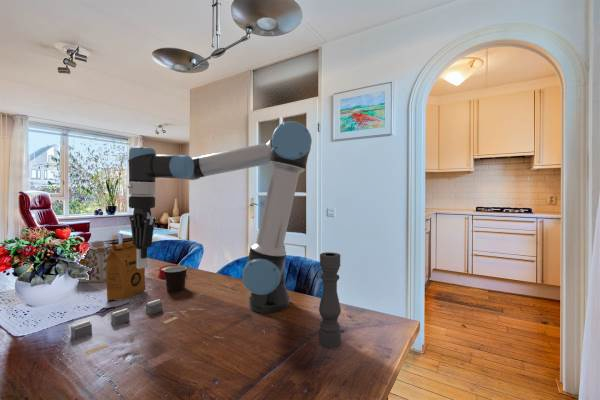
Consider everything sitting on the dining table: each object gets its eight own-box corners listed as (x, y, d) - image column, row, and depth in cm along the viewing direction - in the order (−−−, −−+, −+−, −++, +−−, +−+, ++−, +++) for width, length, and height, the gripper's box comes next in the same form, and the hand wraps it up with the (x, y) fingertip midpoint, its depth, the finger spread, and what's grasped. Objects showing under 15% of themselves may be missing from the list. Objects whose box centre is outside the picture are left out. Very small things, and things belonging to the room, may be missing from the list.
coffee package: (149, 292, 116) (148, 240, 115) (122, 304, 105) (120, 246, 104) (131, 289, 120) (130, 238, 119) (102, 301, 108) (101, 244, 107)
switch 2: (129, 320, 89) (129, 309, 89) (115, 325, 86) (115, 314, 85) (125, 318, 91) (125, 307, 90) (111, 323, 87) (110, 311, 87)
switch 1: (92, 334, 81) (91, 322, 81) (74, 340, 77) (74, 327, 77) (88, 331, 82) (87, 319, 82) (71, 336, 79) (70, 324, 79)
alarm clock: (170, 264, 147) (189, 261, 140) (172, 276, 147) (191, 273, 140) (151, 269, 138) (171, 266, 131) (153, 282, 137) (174, 279, 131)
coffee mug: (181, 296, 112) (181, 272, 112) (160, 296, 112) (159, 272, 112) (193, 286, 124) (193, 264, 123) (173, 286, 124) (173, 264, 123)
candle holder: (335, 350, 75) (335, 258, 74) (314, 344, 78) (315, 255, 77) (344, 340, 80) (344, 253, 79) (324, 334, 84) (325, 251, 83)
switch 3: (162, 310, 96) (162, 300, 96) (150, 314, 93) (150, 304, 93) (157, 308, 98) (157, 298, 98) (146, 312, 95) (145, 302, 95)
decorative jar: (102, 282, 128) (100, 243, 127) (76, 282, 128) (75, 243, 128) (119, 274, 140) (118, 239, 139) (96, 274, 140) (95, 239, 140)
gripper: (120, 194, 92) (120, 266, 93) (139, 196, 84) (139, 274, 85) (144, 194, 98) (144, 261, 99) (164, 196, 90) (163, 269, 91)
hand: (141, 267), depth 92 cm, fingers closed
